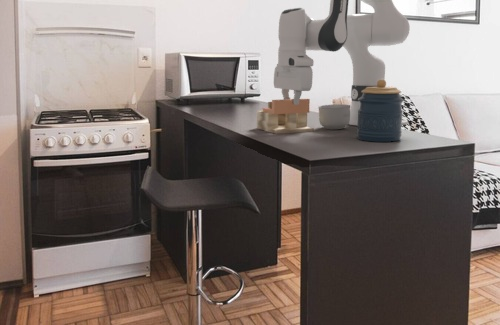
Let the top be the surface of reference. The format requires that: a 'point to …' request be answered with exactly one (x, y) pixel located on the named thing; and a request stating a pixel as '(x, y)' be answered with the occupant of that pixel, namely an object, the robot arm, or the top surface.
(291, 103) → the orange angled block
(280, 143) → the top surface
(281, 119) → the wooden block stack
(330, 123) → the teacup
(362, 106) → the canister
